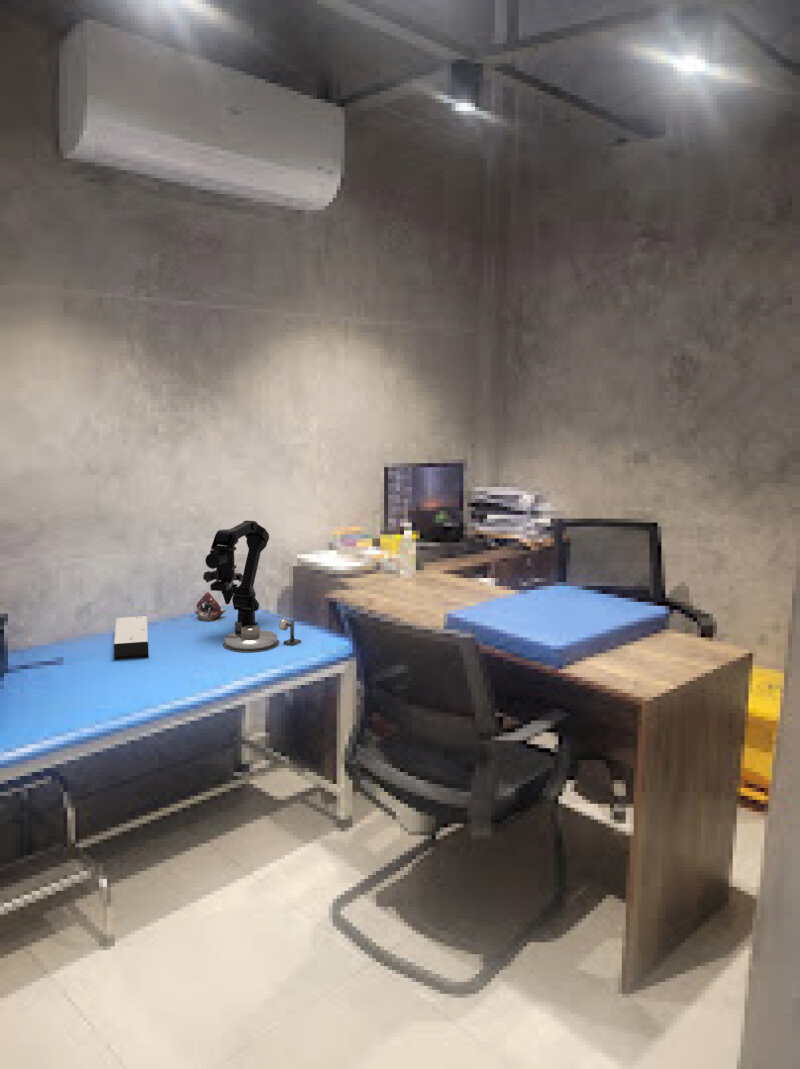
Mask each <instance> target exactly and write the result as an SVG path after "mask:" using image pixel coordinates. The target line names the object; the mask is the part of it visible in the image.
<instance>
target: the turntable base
mask: <svg viewBox="0 0 800 1069" xmlns="http://www.w3.org/2000/svg"><path fill="white" fill-rule="evenodd" d="M279 645H280V640H279V639H278V638H277V644H276V645H274V646H272V647H270V648H266V649H261V650H251V651H245V650H235V649H231V648H228V647H227V646H226V645H225V641H223V643H222V647H223V648H224V649H226V650H228V651H231V652H234V653H247V654H248V653H260V652H266V651H270V650H273V649H275V648H277V647H278V646H279Z"/></svg>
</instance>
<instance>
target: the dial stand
mask: <svg viewBox="0 0 800 1069" xmlns="http://www.w3.org/2000/svg"><path fill="white" fill-rule="evenodd" d="M278 628H279V630H281V631H287V630H288V629H289V628H290V630H289V634H290V635H289V637H290V638H289V639H287V640H283V645H286V646H292V647H293V646H295V645H299V644H301V643H302V640H301V639H298V638H295V621H294V619H293V620H290V621H289V620H288V619H285V618H282V619H280V621H279V623H278Z"/></svg>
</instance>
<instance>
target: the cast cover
mask: <svg viewBox="0 0 800 1069" xmlns="http://www.w3.org/2000/svg"><path fill="white" fill-rule="evenodd" d="M260 630H261V629H260V626H259V625H257V624H256V625H247V626H241V637H242V639H245V640H255V639H258V638H260Z"/></svg>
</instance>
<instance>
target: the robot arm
mask: <svg viewBox="0 0 800 1069" xmlns="http://www.w3.org/2000/svg"><path fill="white" fill-rule="evenodd" d="M243 537H245V538H246V541H245V542H246V546H247V548H248V551H247V556H246V560H245V564H244V569H243V573H241V572H235V571H236V570H235V569H237V565H235V551H236V550H237V547H236V545H237V544H238V543H239V540H240V539H241V538H243ZM269 541H270V534H269V532H268V531H267V529H266V528H265V527H263V526H261V525H260V524H258V522H257V521H255V520H244V521H243V522H241V523H239V524H237V525H236V526H234V527H233V526H232V527H231V528H227V529H223V528H222V529H219V530H218V531H216V533H215V535H214V538H213V541H212V543H211V547H210V549H211V550H209V553H208V554H207V555H206V557H205V559H204V560H205V564H206V566H207V567H208V568H209V569H212V571H210V570H208V571H204V572H203V575H202V576H203V578H202V579H203V580H204V581H205V583H209V582H212V581H213V582H212V583H210V585H209V589H210V591H213V592H214V591H215V592H221V594H222V597H223V600H224V602H225V604H226V605H230V603H231V600H232V605H233V610H234V611H237V612H238V613H237V621H240V622H241V627H243V626H247V625H256V626H257V625H258V624H259V623H258V622H257V621H256V612H257V611H258V610H259V609H260V608H259V607H260V602H258V600H257V599H256V595H257V594H256V591H255V588H254V584H255V580H256V577H257V576H256V575H257V570H258V566H259V561H260V557H261V553H262V552H263V551H264V549H266V547H267V546H268V542H269ZM214 580H215V581H214ZM234 581H238V582H240V584H237V583H235V582H234Z"/></svg>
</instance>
